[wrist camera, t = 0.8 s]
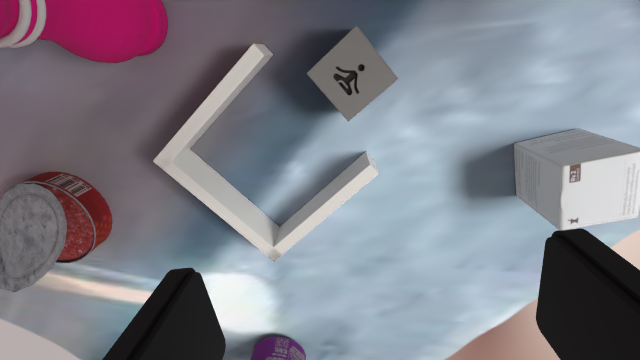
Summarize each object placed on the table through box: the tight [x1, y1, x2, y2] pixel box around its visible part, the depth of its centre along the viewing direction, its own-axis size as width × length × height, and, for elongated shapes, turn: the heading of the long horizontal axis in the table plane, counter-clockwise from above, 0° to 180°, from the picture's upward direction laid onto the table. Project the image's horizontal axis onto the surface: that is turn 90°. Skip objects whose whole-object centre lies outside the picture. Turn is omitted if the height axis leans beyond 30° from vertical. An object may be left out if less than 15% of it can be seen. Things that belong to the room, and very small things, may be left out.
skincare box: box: [514, 129, 640, 230], centre depth 28 cm, size 6×6×7 cm
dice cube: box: [307, 26, 398, 121], centre depth 27 cm, size 5×5×5 cm
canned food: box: [0, 172, 112, 292], centre depth 34 cm, size 11×10×10 cm
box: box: [153, 44, 379, 261], centre depth 31 cm, size 14×15×4 cm
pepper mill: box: [0, 0, 168, 63], centre depth 19 cm, size 7×7×20 cm
